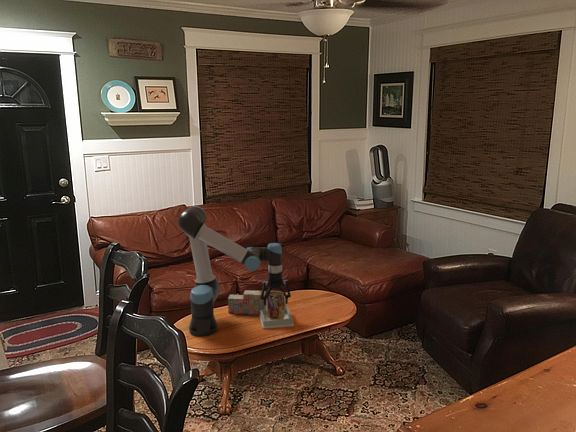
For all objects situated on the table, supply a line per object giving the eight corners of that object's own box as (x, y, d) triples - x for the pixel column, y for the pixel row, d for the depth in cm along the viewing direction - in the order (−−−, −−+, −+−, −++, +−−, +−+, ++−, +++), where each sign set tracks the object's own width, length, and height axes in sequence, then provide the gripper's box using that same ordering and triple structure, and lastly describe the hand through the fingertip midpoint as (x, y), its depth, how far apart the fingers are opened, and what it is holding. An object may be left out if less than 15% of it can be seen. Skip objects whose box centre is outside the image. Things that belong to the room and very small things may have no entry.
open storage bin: (262, 328, 269) (262, 321, 268) (259, 315, 286) (259, 309, 285) (293, 326, 272) (293, 319, 271) (288, 313, 288) (288, 306, 287)
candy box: (284, 317, 279) (284, 291, 276) (282, 320, 275) (281, 294, 272) (270, 314, 282) (269, 289, 278) (267, 318, 278) (266, 292, 274)
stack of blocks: (228, 313, 290) (227, 293, 287) (230, 309, 296) (229, 289, 293) (264, 314, 287) (264, 294, 284) (266, 310, 293) (265, 290, 290)
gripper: (255, 275, 267) (256, 314, 272) (296, 272, 271) (296, 311, 276) (254, 270, 274) (255, 308, 279) (293, 268, 278) (294, 305, 283)
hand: (275, 309), depth 277 cm, fingers closed on candy box, 9 cm apart
